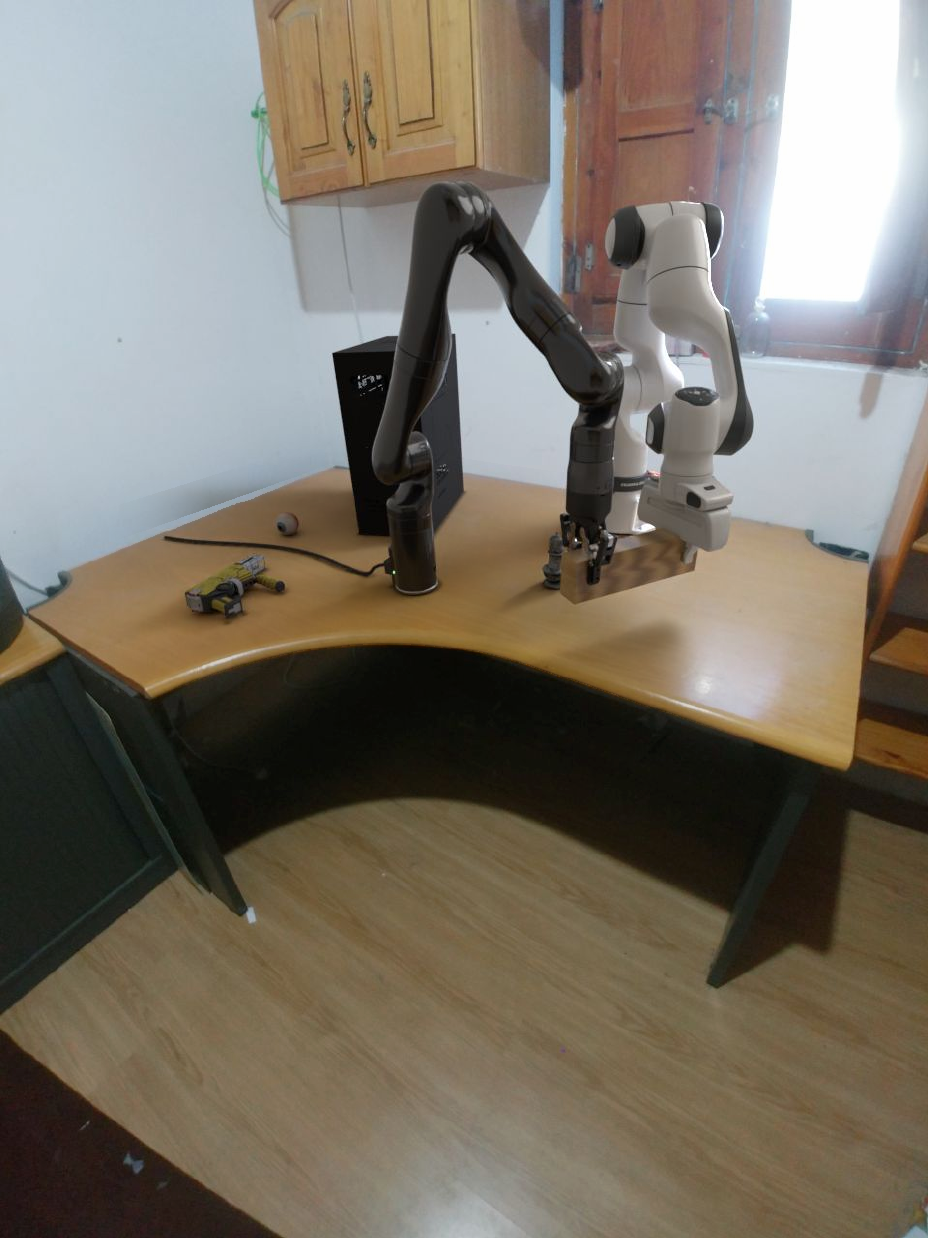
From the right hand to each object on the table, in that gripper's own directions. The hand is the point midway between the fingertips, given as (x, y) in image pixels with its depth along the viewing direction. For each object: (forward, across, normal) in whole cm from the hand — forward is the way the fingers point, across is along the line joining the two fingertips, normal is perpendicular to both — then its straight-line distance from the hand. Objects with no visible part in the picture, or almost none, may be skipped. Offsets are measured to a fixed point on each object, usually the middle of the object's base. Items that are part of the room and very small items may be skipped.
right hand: (674, 556), depth 115 cm
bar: (+3, 0, -10) cm, 11 cm away
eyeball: (+11, -82, -60) cm, 102 cm away
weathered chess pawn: (+11, -20, -14) cm, 27 cm away
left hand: (-1, 0, -20) cm, 21 cm away
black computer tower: (+11, -80, -24) cm, 84 cm away
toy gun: (+11, -50, -75) cm, 91 cm away
